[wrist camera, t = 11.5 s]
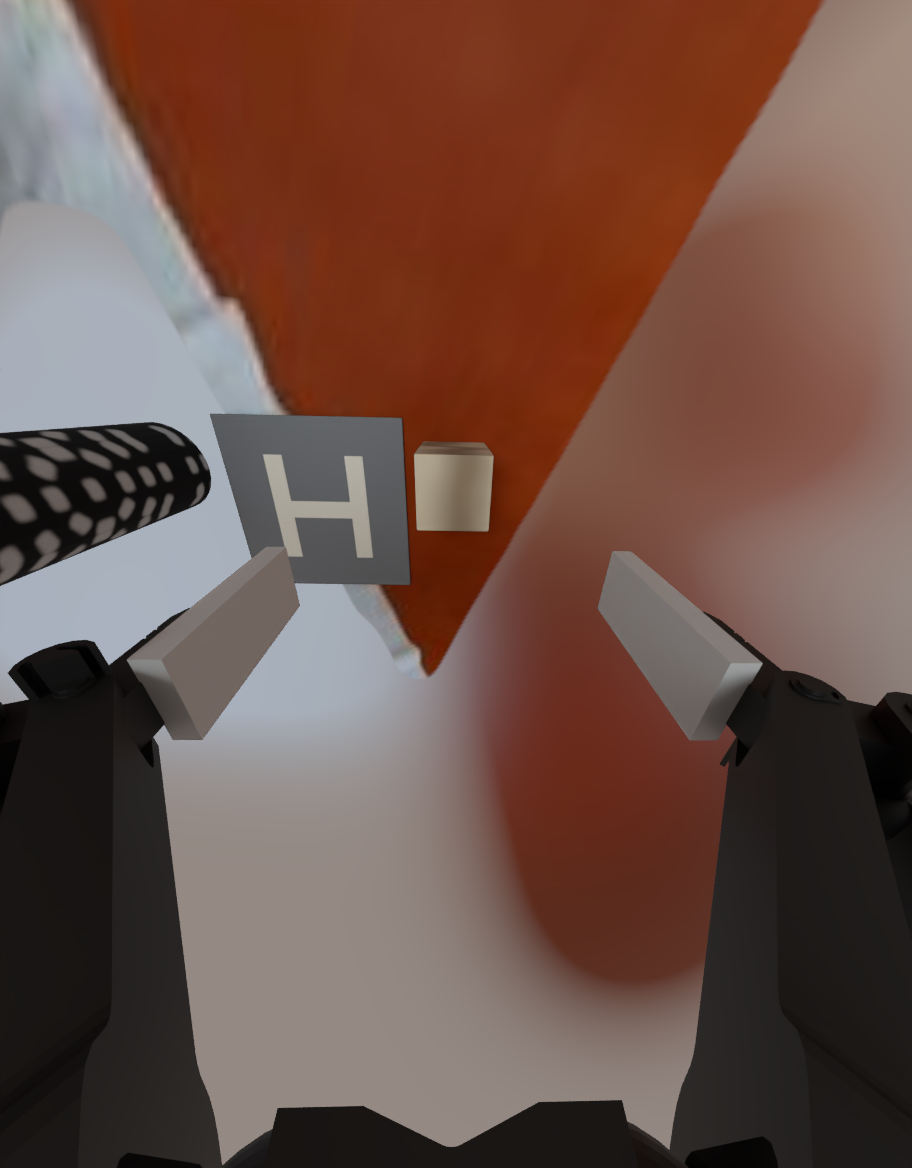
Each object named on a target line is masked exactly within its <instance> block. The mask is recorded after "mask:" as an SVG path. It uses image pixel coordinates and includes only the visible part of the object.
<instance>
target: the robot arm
mask: <svg viewBox="0 0 912 1168" xmlns="http://www.w3.org/2000/svg"><path fill="white" fill-rule="evenodd" d="M299 606H300V604H299V600H298V596H297V591H296V588H295V583H294V579H293V575H292V570H291V566H290V562H289V558H288V553H287V549H286V547H265V548H264V549H263V550H262V551H261V552H259V553H258V554H257V555H256V556H254V557H253V558H252V559H251V560H249V561H248V562H247V563H246V564H245V565H243V566H242V567H241V568H239V569H238V570H237V571H236V572H234V573H233V574H232V575H231V576H230V577H228V578H227V579H226V580H225V581H223V582H222V583H221V584H220V585H218V586H217V587H216V588H215V589H213V590H212V591H211V592H210V593H209V594H207V595H206V596H205V597H203V598H202V599H201V600H200V601H199V602H197V603H196V604H195V605H194V606H192V607H191V608H188V609H186V610H184V611H182V612H180V613H178V614H176V615H174V616H172V617H170V618H169V619H168V620H167V621H165V622H164V623H163V624H161V625H160V626H159V627H158V628H157V630H154V631H152V632H151V633H150V634H149V635H147V636H146V639H142V640H141V641H140V642H138V643H137V644H136V645H135V646H133V647H132V648H131V649H129V650H128V651H127V652H125V653H124V654H123V655H122V656H121V657H119V658H118V659H117V660H115V661H114V662H113V663H111V664H110V665H108V663H107V662H106V660H105V659H104V657H103V655H102V654H101V652H100V650H99V649H98V647H97V646H96V644H95V642H92V641H88V640H79V641H71V642H66V643H62V644H57V645H54V646H52V647H49V648H46V649H43V650H40V651H38V652H36V653H34V654H32V655H30V656H28V657H26V658H24V659H23V660H21V661H20V662H19V663H17V664H15V665H14V666H13V667H12V669H11V670H10V671H9V673H8V674H9V675H10V677H11V678H12V679H13V680H14V682H15V683H16V684H17V685H18V686H19V688H20V689H21V690H22V691H23V693H24V694H25V695H26V696H27V697H28V699H29V700H24V701H19V702H14V703H9V704H4V705H2V703H1V702H0V1168H912V695H911V694H906V693H900V692H892V693H887V694H886V695H885V696H884V697H883V699H882V700H881V701H880V702H879V703H878V704H877V705H876V706H872V705H868V704H863V703H858V702H853V701H849V700H847V699H846V698H845V696H843V695H842V694H841V693H840V692H839V691H837V690H836V689H835V688H833V687H832V686H830V685H828V684H827V683H825V682H823V681H821V680H819V679H817V678H814V677H812V676H809V675H806V674H803V673H799V672H795V671H782V670H781V669H780V668H778V667H777V666H776V665H775V664H774V663H772V662H771V661H770V660H769V659H767V658H766V657H765V656H764V655H763V654H761V653H760V652H759V651H757V650H756V649H755V648H754V647H753V646H751V645H750V644H749V643H748V642H745V640H744V639H743V638H742V637H741V636H739V635H738V634H737V633H734V631H733V630H732V629H731V628H730V627H728V626H727V625H726V624H725V623H723V622H722V621H721V620H719V619H717V618H715V617H713V616H712V615H710V614H708V613H706V612H702V611H701V610H699V609H698V608H697V607H696V606H695V605H694V604H692V603H691V602H690V601H689V600H688V599H686V598H685V597H684V596H683V595H682V594H681V593H679V592H678V591H677V590H676V589H675V588H673V587H672V586H671V585H670V584H669V583H668V582H666V581H665V580H664V579H663V578H662V577H661V576H659V575H658V574H657V573H656V572H655V571H653V570H652V569H651V568H650V567H649V566H648V565H646V564H645V563H644V562H643V561H642V560H640V559H639V558H638V557H637V556H636V555H634V554H633V553H632V552H627V551H621V552H620V551H613V552H612V555H611V559H610V563H609V567H608V570H607V574H606V578H605V582H604V586H603V590H602V593H601V598H600V602H599V605H598V610H599V611H600V613H601V614H602V616H603V617H604V618H605V620H606V621H607V622H608V624H609V626H610V627H611V628H612V630H613V631H614V633H615V634H616V635H617V637H618V638H619V639H620V641H621V643H622V644H623V646H624V647H625V648H626V650H627V651H628V652H629V654H630V656H631V657H632V658H633V660H634V661H635V662H636V664H637V665H638V667H639V668H640V670H641V671H642V673H643V674H644V676H645V677H646V678H647V680H648V681H649V683H650V684H651V686H652V687H653V688H654V690H655V691H656V693H657V694H658V696H659V697H660V698H661V700H662V701H663V703H664V704H665V706H666V707H667V709H668V710H669V711H670V713H671V714H672V716H673V717H674V718H675V720H676V721H677V723H678V724H679V726H680V727H681V729H682V730H683V731H684V733H685V734H686V736H687V737H688V738H689V740H718V738H719V736H720V734H721V733H722V731H723V730H724V728H725V726H726V725H727V726H728V727H729V728H730V729H731V730H732V731H733V733H734V734H735V735H736V736H737V737H736V738H735V740H734V742H733V743H732V745H731V746H730V748H729V749H728V751H727V753H726V754H725V756H724V757H723V759H722V761H721V762H720V765H722V766H725V765H726V764H727V762H729V767H728V775H727V783H726V792H725V800H724V808H723V817H722V825H721V834H720V842H719V850H718V859H717V867H716V876H715V884H714V892H713V901H712V909H711V918H710V926H709V934H708V943H707V951H706V959H705V968H704V976H703V985H702V993H701V1001H700V1010H699V1019H698V1027H697V1035H696V1043H695V1049H694V1055H693V1058H692V1062H691V1066H690V1068H689V1070H688V1073H687V1075H686V1077H685V1080H684V1082H683V1084H682V1087H681V1091H680V1094H679V1098H678V1102H677V1106H676V1112H675V1117H674V1122H673V1130H672V1136H671V1144H670V1150H669V1149H667V1148H666V1147H665V1146H664V1145H662V1143H660V1142H659V1141H658V1140H656V1139H655V1138H653V1137H652V1136H650V1135H649V1134H647V1133H646V1132H644V1131H643V1130H641V1129H640V1128H638V1127H637V1126H635V1125H634V1124H631V1123H629V1122H627V1119H626V1115H625V1111H624V1107H623V1103H622V1100H612V1101H573V1102H571V1101H570V1102H538V1103H537V1104H535V1105H533V1106H531V1107H529V1108H527V1109H526V1110H524V1111H522V1112H520V1113H518V1114H516V1115H515V1116H513V1117H511V1118H509V1119H508V1120H506V1121H504V1122H502V1123H500V1124H498V1125H496V1126H494V1127H493V1128H491V1129H489V1130H487V1131H485V1132H484V1133H482V1134H480V1135H478V1136H476V1137H475V1138H473V1139H471V1140H469V1141H467V1142H465V1143H463V1144H462V1145H459V1146H457V1147H446V1146H443V1145H441V1144H439V1143H437V1142H435V1141H433V1140H431V1139H429V1138H427V1137H425V1136H423V1135H421V1134H419V1133H417V1132H414V1131H413V1130H411V1129H409V1128H407V1127H404V1126H403V1125H401V1124H399V1123H397V1122H395V1121H392V1120H390V1119H388V1118H386V1117H384V1116H382V1115H380V1114H378V1113H376V1112H374V1111H372V1110H370V1109H368V1108H366V1107H364V1106H347V1107H307V1108H306V1107H303V1108H278V1109H277V1113H276V1118H275V1121H274V1126H273V1129H272V1130H270V1131H268V1132H266V1133H264V1134H263V1135H261V1136H260V1137H258V1138H257V1139H255V1140H254V1141H252V1142H251V1143H250V1144H248V1145H247V1146H245V1147H244V1148H242V1149H241V1150H240V1151H238V1152H237V1153H236V1154H235V1155H234V1156H233V1157H232V1158H230V1159H229V1160H228V1161H227V1162H226V1163H225V1164H224V1165H222V1162H221V1155H220V1147H219V1140H218V1133H217V1128H216V1123H215V1117H214V1112H213V1109H212V1105H211V1101H210V1098H209V1095H208V1093H207V1090H206V1088H205V1086H204V1083H203V1081H202V1078H201V1076H200V1073H199V1069H198V1065H197V1060H196V1055H195V1046H194V1038H193V1030H192V1022H191V1013H190V1005H189V996H188V988H187V981H186V971H185V963H184V955H183V946H182V938H181V930H180V921H179V913H178V905H177V897H176V888H175V881H174V872H173V864H172V856H171V847H170V839H169V830H168V821H167V813H166V805H165V796H164V788H163V780H162V772H161V763H160V755H159V747H158V744H157V743H156V741H155V739H154V738H153V736H154V735H155V734H156V733H157V732H158V731H159V730H160V729H161V727H162V726H163V725H165V727H166V729H167V730H168V732H169V734H170V736H171V737H172V739H173V740H202V739H203V738H204V737H205V735H206V734H207V733H208V731H209V730H210V729H211V727H212V726H213V724H214V723H215V722H216V720H217V719H218V718H219V716H220V715H221V713H222V712H223V711H224V709H225V708H226V707H227V705H228V704H229V702H230V701H231V700H232V698H233V697H234V696H235V694H236V693H237V691H238V690H239V689H240V687H241V686H242V685H243V683H244V682H245V680H246V679H247V678H248V676H249V675H250V674H251V672H252V671H253V669H254V668H255V667H256V665H257V664H258V663H259V661H260V660H261V658H262V657H263V656H264V654H265V653H266V652H267V650H268V649H269V647H270V646H271V645H272V643H273V642H274V641H275V639H276V638H277V636H278V635H279V634H280V632H281V631H282V630H283V628H284V627H285V625H286V624H287V623H288V621H289V620H290V619H291V617H292V616H293V614H294V613H295V612H296V610H297V609H298V607H299Z"/></svg>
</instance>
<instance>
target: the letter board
mask: <svg viewBox="0 0 912 1168" xmlns="http://www.w3.org/2000/svg"><path fill="white" fill-rule="evenodd" d="M210 417H211V420H212V423H213V427H214V430H215V434H216V437H217V441H218V444H219V447H220V451H221V454H222V458H223V461H224V465H225V468H226V472H227V475H228V478H229V482H230V485H231V488H232V492H233V495H234V499H235V502H236V506H237V509H238V513H239V516H240V519H241V523H242V527H243V530H244V533H245V536H246V540H247V544H248V547H249V550H250V554H251V557H252V558H253V557H254V556H256V555H257V554H258V553H259V552H261V551H262V550H263V549H264V548H265V547H286V549H287V553H288V558H289V562H290V566H291V570H292V575H293V579H294V583H317V584H387V585H410V565H409V545H408V525H407V505H406V485H405V465H404V444H403V424H402V418H381V417H336V416H290V415H245V414H210Z"/></svg>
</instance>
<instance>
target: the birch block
mask: <svg viewBox="0 0 912 1168" xmlns="http://www.w3.org/2000/svg"><path fill="white" fill-rule="evenodd" d="M493 458H494V456H493V454H492V453H491V452H490V450H489V449H488V447H487V446H486V445H485V443H472V442H424V441H423V443H422V444H421V445H420V447H419V448H418V450H417V451H416V452H415V454H414V463H415V491H416V518H417V530H436V531H488V530H489V516H490V501H491V487H492V472H493Z"/></svg>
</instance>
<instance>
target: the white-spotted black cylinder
mask: <svg viewBox="0 0 912 1168" xmlns="http://www.w3.org/2000/svg"><path fill="white" fill-rule="evenodd" d="M210 487H211V476H210V470H209V467H208V464H207V462H206V460H205V458H204V457H203V455H202V453H201V452H200V450H199V449H198V448H197V446H196V445H195V444H194V443H193V442H192V441H190V439H189V438H187V437H186V436H185V435H183V434H182V433H181V432H179V431H177V430H175V429H174V428H172V427H169V426H167V425H164V424H160V423H154V422H148V423H132V424H119V425H105V426H92V427H78V428H65V429H50V430H37V431H23V432H9V433H0V586H1V585H3V584H6V583H9V582H11V581H14V580H16V579H18V578H21V577H23V576H26V575H28V574H30V573H33V572H35V571H38V570H40V569H43V568H45V567H48V566H50V565H52V564H55V563H57V562H60V561H62V560H64V559H67V558H70V557H72V556H74V555H77V554H79V553H82V552H84V551H86V550H89V549H91V548H94V547H96V546H99V545H101V544H104V543H106V542H108V541H111V540H113V539H116V538H118V537H121V536H123V535H126V534H128V533H130V532H133V531H135V530H138V529H140V528H142V527H145V526H148V525H150V524H152V523H155V522H157V521H159V520H162V519H165V518H167V517H169V516H172V515H174V514H177V513H179V512H182V511H184V510H186V509H189V508H191V507H194V506H196V505H198V504H200V503H201V502H202V501H203V500H204V499H205V498H206V497H207V495H208V493H209V491H210Z"/></svg>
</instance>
